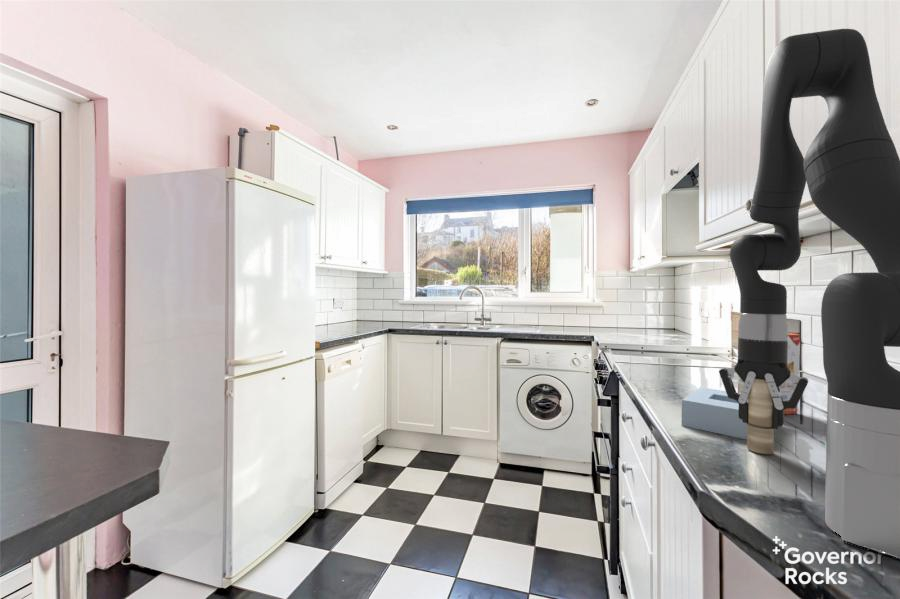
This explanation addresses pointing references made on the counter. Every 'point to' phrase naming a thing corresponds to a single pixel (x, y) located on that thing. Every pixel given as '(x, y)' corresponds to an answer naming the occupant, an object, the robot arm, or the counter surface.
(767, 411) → the peg
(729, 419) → the socket block
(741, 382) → the cracker box
